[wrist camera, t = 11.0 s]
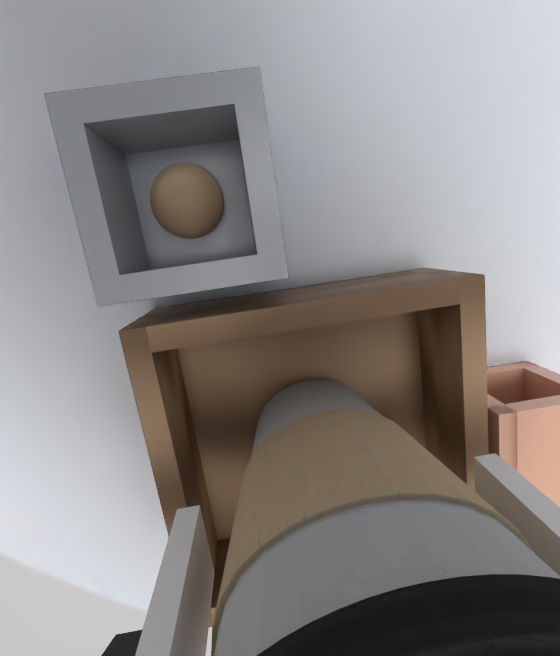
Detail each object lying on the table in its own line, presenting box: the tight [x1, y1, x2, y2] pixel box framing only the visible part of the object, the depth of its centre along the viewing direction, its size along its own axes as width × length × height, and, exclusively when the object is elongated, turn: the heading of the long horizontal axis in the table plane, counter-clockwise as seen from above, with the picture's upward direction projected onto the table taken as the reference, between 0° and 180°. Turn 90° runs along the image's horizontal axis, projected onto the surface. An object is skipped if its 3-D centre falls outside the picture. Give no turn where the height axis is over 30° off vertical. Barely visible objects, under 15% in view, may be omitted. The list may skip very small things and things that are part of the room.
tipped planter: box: [487, 361, 560, 507], centre depth 19 cm, size 7×5×5 cm
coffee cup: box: [211, 380, 560, 656], centre depth 11 cm, size 9×9×15 cm
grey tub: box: [44, 67, 289, 307], centre depth 15 cm, size 7×7×5 cm
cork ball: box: [150, 162, 224, 239], centre depth 16 cm, size 3×3×3 cm
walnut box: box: [119, 268, 489, 627], centre depth 18 cm, size 14×14×5 cm
